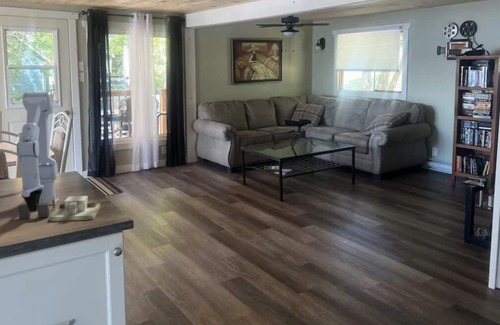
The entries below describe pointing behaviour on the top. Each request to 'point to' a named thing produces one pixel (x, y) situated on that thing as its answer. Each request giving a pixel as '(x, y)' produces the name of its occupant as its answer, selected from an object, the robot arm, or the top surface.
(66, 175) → the top surface
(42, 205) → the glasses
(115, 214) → the top surface
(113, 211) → the top surface
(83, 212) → the stand
